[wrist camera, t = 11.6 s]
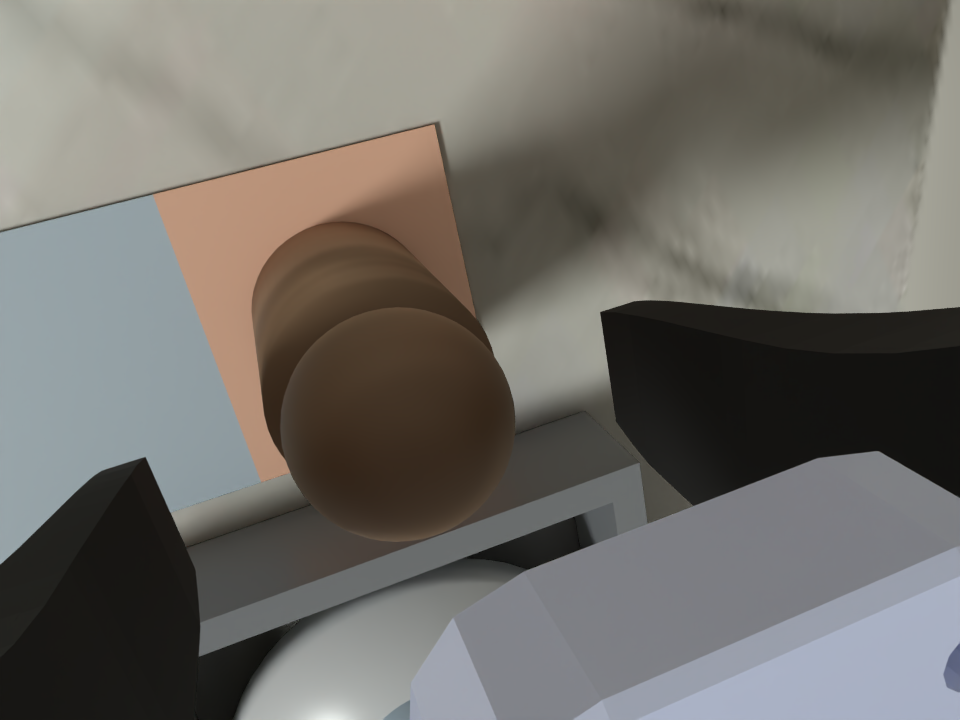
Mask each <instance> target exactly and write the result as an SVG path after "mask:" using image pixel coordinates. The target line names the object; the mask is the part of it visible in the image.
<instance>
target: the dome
mask: <svg viewBox="0 0 960 720" xmlns="http://www.w3.org/2000/svg"><path fill="white" fill-rule="evenodd" d="M524 571H527V569H524V568H521V567H518V566H514V565H511V564H508V563H503V562H497V561H491V560H485V559H459V560H457V561H454V562H451V563H449V564H446V565H443V566H441V567H438V568H435V569H432V570H430V571H427V572H424V573H422V574H419V575H416V576H414V577H411V578H408V579H406V580H403V581H400V582H398V583H395V584H392V585H390V586H387V587H384V588H382V589H379V590H376V591H374V592H371V593H368V594H365V595H363V596H360V597H357V598H355V599H352V600H349V601H347V602H344V603H341V604H339V605H336V606H333V607H331V608H328V609H325V610H323V611H320V612H317V613H315V614H312V615H309V616H307V617H304V618H303V619H302V620H300V621H299V622H298V623H297V624H296V625H295V626H294V627H292V628H291V629H290V630H289V631H288V632H287V633H286V634H285V635H284V636H283V637H282V638H281V639H280V640H279V641H278V643H277V644H276V645H275V646H274V647H273V648H272V649H271V650H270V651H269V652H268V654H267V655H266V656H265V658H264V659H263V661H262V662H261V663H260V665H259V666H258V668H257V669H256V671H255V672H254V673H253V675H252V677H251V679H250V681H249V682H248V684H247V686H246V688H245V690H244V692H243V694H242V696H241V698H240V701H239V704H238V707H237V710H236V712H235V715H234V718H233V720H410V688H411V682H412V680H413V678H414V677H415V675H416V674H417V672H418V671H419V669H420V668H421V666H422V665H423V663H424V661H425V660H426V658H427V657H428V655H429V654H430V652H431V651H432V649H433V648H434V646H435V644H436V643H437V641H438V640H439V638H440V637H441V635H442V634H443V632H444V630H445V629H446V627H447V626H448V624H449V623H450V621H451V620H452V618H453V617H454V616H456V615H457V614H459V613H460V612H462V611H464V610H465V609H467V608H468V607H470V606H471V605H473V604H474V603H476V602H477V601H479V600H481V599H482V598H484V597H485V596H487V595H488V594H490V593H491V592H493V591H495V590H496V589H498V588H499V587H501V586H502V585H504V584H505V583H507V582H508V581H510V580H512V579H513V578H515V577H516V576H518V575H519V574H521V573H522V572H524Z"/></svg>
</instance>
